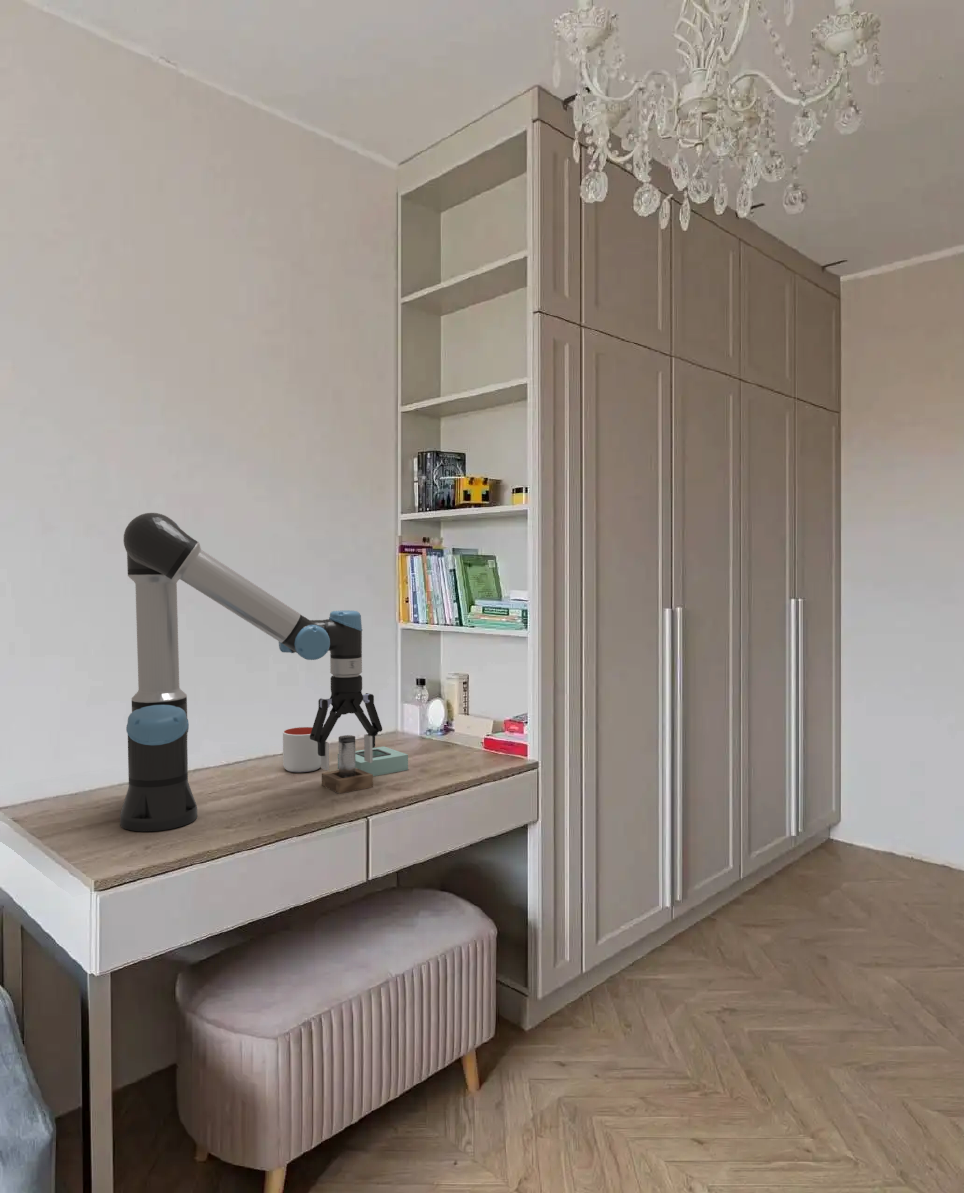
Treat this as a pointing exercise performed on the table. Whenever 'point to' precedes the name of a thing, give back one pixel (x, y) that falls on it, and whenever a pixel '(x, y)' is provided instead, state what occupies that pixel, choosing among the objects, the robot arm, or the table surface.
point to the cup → (300, 750)
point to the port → (382, 761)
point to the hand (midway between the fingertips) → (347, 765)
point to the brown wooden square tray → (347, 781)
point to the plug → (347, 756)
